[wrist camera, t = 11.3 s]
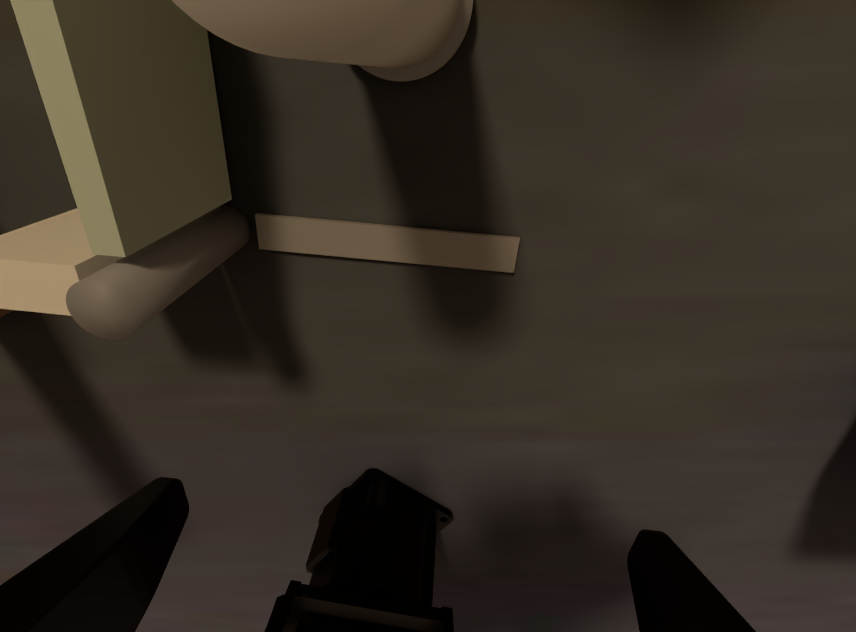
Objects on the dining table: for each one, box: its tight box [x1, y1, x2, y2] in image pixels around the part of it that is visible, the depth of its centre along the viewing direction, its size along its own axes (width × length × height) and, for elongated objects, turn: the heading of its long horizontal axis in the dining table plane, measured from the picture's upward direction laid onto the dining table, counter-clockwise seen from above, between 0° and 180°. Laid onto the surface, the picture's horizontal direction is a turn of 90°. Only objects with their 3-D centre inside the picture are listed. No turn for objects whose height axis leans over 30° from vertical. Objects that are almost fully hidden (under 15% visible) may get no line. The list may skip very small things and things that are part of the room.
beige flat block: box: [11, 0, 232, 257], centre depth 13 cm, size 11×2×7 cm, turn 176°
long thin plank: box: [0, 206, 520, 341], centre depth 16 cm, size 18×2×8 cm, turn 86°
